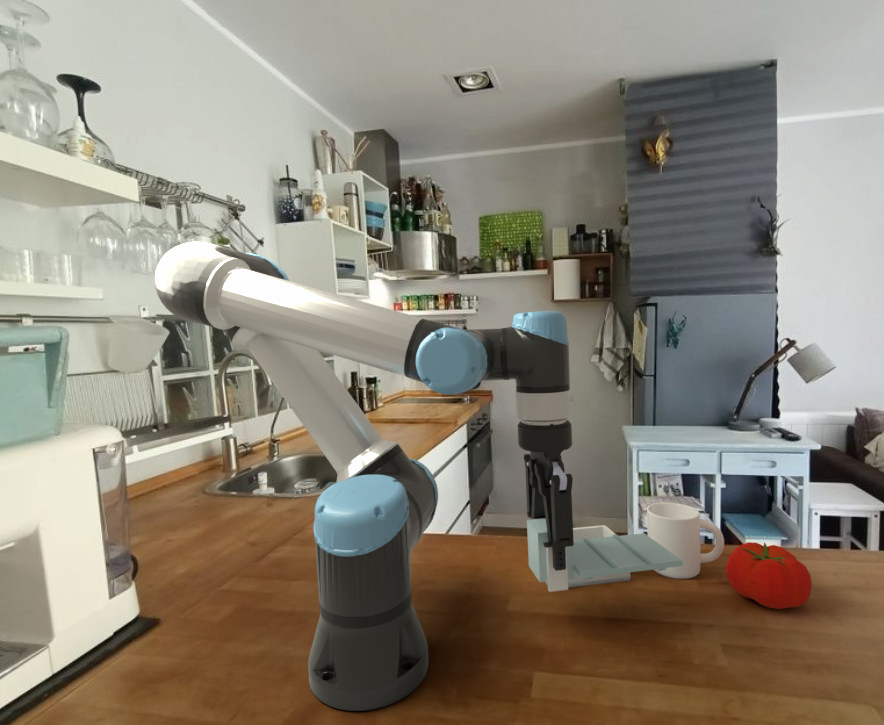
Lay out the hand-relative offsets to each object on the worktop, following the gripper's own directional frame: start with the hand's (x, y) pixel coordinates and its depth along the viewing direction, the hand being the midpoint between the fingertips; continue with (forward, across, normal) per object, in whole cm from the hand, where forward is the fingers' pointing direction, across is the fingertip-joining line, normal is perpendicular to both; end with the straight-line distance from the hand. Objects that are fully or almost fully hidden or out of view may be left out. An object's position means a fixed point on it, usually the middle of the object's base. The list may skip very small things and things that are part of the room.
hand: (550, 579), depth 71 cm
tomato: (+7, -1, -34) cm, 34 cm away
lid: (-1, 0, -8) cm, 8 cm away
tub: (+6, +13, -10) cm, 18 cm away
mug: (+7, +10, -28) cm, 30 cm away
